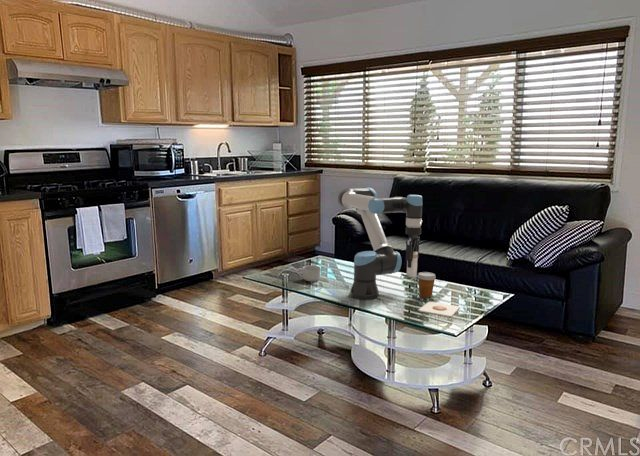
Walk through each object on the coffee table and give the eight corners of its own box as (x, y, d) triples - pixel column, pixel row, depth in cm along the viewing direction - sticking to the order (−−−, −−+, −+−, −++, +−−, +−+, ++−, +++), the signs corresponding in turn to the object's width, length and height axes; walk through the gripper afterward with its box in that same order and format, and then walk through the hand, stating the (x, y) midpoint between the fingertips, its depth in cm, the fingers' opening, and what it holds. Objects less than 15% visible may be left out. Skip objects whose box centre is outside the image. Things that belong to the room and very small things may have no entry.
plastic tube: (404, 276, 245) (405, 252, 243) (408, 273, 250) (409, 250, 248) (414, 277, 243) (415, 253, 241) (418, 275, 247) (419, 251, 245)
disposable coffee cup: (417, 298, 259) (418, 276, 257) (416, 292, 268) (417, 271, 266) (435, 299, 258) (436, 276, 256) (433, 293, 267) (435, 272, 265)
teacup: (320, 278, 296) (320, 265, 295) (320, 283, 286) (320, 269, 284) (297, 277, 297) (297, 264, 295) (296, 282, 286) (296, 269, 285)
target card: (418, 311, 238) (418, 309, 238) (428, 302, 252) (428, 301, 252) (451, 317, 230) (451, 315, 230) (460, 307, 244) (460, 306, 244)
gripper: (414, 229, 232) (412, 277, 236) (426, 224, 248) (424, 269, 252) (399, 228, 236) (397, 275, 240) (412, 223, 251) (410, 267, 255)
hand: (411, 272), depth 246 cm, fingers closed on plastic tube, 5 cm apart
